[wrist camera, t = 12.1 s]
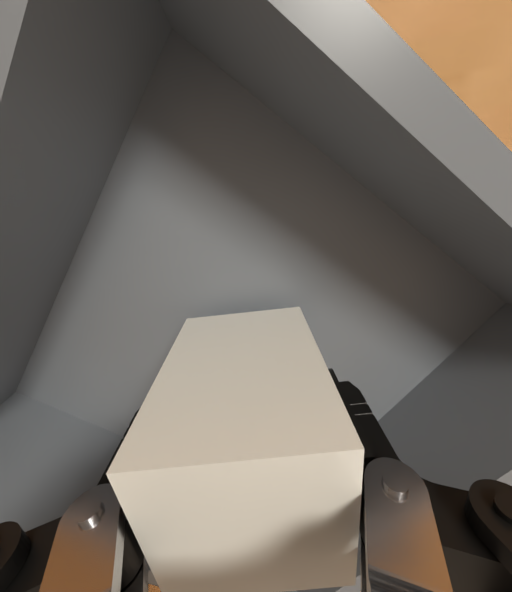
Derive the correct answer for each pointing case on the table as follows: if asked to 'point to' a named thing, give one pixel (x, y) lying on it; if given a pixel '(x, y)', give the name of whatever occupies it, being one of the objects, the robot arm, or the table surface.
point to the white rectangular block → (243, 462)
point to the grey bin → (241, 226)
